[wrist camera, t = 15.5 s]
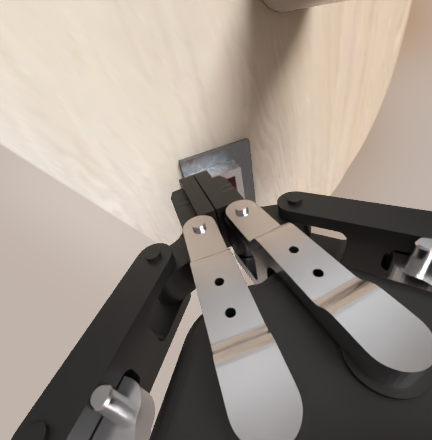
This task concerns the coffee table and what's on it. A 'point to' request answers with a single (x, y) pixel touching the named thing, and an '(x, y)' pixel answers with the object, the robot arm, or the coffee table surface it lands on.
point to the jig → (225, 166)
